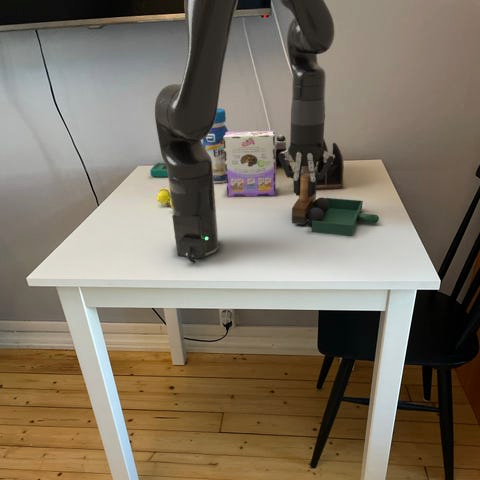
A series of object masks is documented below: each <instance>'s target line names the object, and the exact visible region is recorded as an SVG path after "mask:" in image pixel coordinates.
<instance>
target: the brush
mask: <svg viewBox="0 0 480 480" xmlns="http://www.w3.org/2000/svg"><path fill="white" fill-rule="evenodd" d="M310 181H311V180H310V174H308V173H304V172H303V173H301V174H300V192H299V196H298V198H297V200H296V202H295V203H294V204H293V206H292V207H291V224H294V225H304V226H305V225H306V223H307V222H308V219H307V214H308V212H309V210H310V209H312V208H314V207H313V205H314V202H315V200H316V199H317V191H316V192H315V194H314V195H313V196H312V197H309V182H310Z"/></svg>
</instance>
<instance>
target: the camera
mask: <svg viewBox="0 0 480 480" xmlns="http://www.w3.org/2000/svg"><path fill="white" fill-rule="evenodd" d="M275 148H276V169H277V168H283V167H282V165H281V163H280V161H279V158H278V155H279V154H280V153H281V152H282V151H286V150H287V140H286V137H285V135H284V134H278V135H277V136H276V137H275Z"/></svg>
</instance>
